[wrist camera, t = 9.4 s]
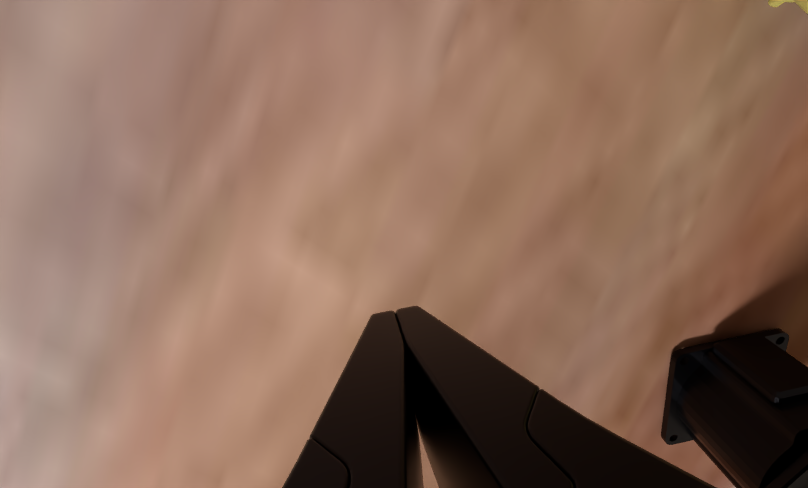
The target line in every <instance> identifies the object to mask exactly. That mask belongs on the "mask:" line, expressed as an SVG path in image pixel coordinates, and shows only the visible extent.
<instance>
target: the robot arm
mask: <svg viewBox="0 0 808 488" xmlns="http://www.w3.org/2000/svg"><path fill="white" fill-rule="evenodd" d="M788 340H789V336H788V334H787V333H785V332H784V331H782V330H781V329H773V330H768V331H763V332H758V333H754V334H749V335H744V336H740V337H735V338H730V339H725V340H721V341H716V342H711V343H706V344H702V345H697V346H692V347H688V348H683V349H679V350H677V351H675V352H674V353H673V355H672V356H671V360H670V368H669V376H668V384H667V392H666V400H665V408H664V416H663V423H662V431H661V437H662V439H663V440H664V441H665V442H666V443H667V444H669V445H673V444H677V443H682V442H686V441H690V440H694V441H695V442H696V443H697V444H698V446H699V447H700V448H701V449H702V450H703V451H704V452H705V453H706V454H707V456H708V457H709V458H710V459H711V460H712V461H713V462H714V463H715V465H716V466H717V467H718V468H719V469H720V470H721V471H722V472H723V473H724V475H725V476H726V477H727V478H728V479H729V480H730V481H731V482H732V484H733V485H734V486H735V487H736V488H808V367H806V366H805V365H803V364H802V363H801V362H799V361H798V360H796V359H795V358H794V357H792V356H791V355H789V354H788V353H787V352H786V348H787V344H788ZM417 425H418V427H417ZM418 429H419V433H420V436H421V439H422V442H423V445H424V448H425V450H426V453H427V456H428V458H429V461H430V464H431V467H432V469H433V472H434V475H435V478H436V480H437V483H438V486H439V488H716V487H714V486H712V485H710V484H708V483H706V482H704V481H703V480H701V479H699V478H697V477H695V476H693V475H691V474H689V473H688V472H686V471H684V470H682V469H680V468H678V467H676V466H674V465H672V464H671V463H669V462H667V461H665V460H663V459H661V458H659V457H657V456H656V455H654V454H652V453H650V452H648V451H646V450H644V449H642V448H641V447H639V446H637V445H635V444H633V443H631V442H629V441H627V440H626V439H624V438H622V437H620V436H618V435H616V434H615V433H613V432H611V431H609V430H607V429H606V428H604V427H602V426H600V425H599V424H597V423H595V422H593V421H591V420H590V419H588V418H586V417H585V416H583V415H581V414H580V413H578V412H577V411H575V410H574V409H572V408H570V407H569V406H567V405H566V404H564V403H562V402H561V401H559V400H558V399H556V398H555V397H553V396H552V395H550V394H549V393H547V392H546V391H544V390H543V389H540V390H539V387H538V386H537V385H535V384H534V383H532V382H531V381H529V380H528V379H526V378H525V377H523V376H522V375H520V374H519V373H517V372H516V371H514V370H513V369H511V368H510V367H508V366H507V365H505V364H504V363H502V362H501V361H499V360H498V359H496V358H495V357H493V356H492V355H490V354H489V353H487V352H486V351H484V350H483V349H481V348H480V347H478V346H477V345H475V344H474V343H472V342H471V341H469V340H468V339H467V338H465V337H464V336H462V335H461V334H459V333H458V332H456V331H455V330H453V329H452V328H450V327H449V326H447V325H446V324H444V323H443V322H441V321H440V320H438V319H437V318H435V317H434V316H432V315H431V314H429V313H428V312H426V311H425V310H423V309H422V308H420V307H419V306H412V307H407V308H401V309H398V310H397V311H396V314H395V312H394V311H386V312H381V313H376V314H373V315H372V316H371V317H370V319H369V321H368V323H367V325H366V327H365V329H364V331H363V333H362V335H361V337H360V339H359V341H358V343H357V345H356V347H355V349H354V351H353V352H352V354H351V356H350V358H349V360H348V362H347V364H346V366H345V368H344V370H343V372H342V374H341V376H340V378H339V380H338V382H337V384H336V386H335V388H334V390H333V392H332V394H331V396H330V398H329V400H328V402H327V404H326V406H325V407H324V409H323V411H322V413H321V415H320V417H319V419H318V421H317V423H316V425H315V427H314V429H313V431H312V433H311V435H310V439H309V440H307V442H306V444H305V446H304V448H303V450H302V452H301V454H300V456H299V458H298V460H297V462H296V464H295V465H294V467H293V469H292V471H291V473H290V474H289V476H288V478H287V480H286V482H285V484H284V485H283V487H282V488H424V486H423V475H422V463H421V452H420V442H419V434H418Z"/></svg>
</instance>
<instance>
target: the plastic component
mask: <svg viewBox="0 0 808 488" xmlns="http://www.w3.org/2000/svg"><path fill="white" fill-rule="evenodd" d="M784 2H796V3H797V4H798V5H799V6H800V7H801V8H802V9H803V10H804V11H805V12H806V13H807V14H808V0H769V1H768V4H769V5H770V6H772V7H778V6H779V5H781V4H782V3H784Z"/></svg>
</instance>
